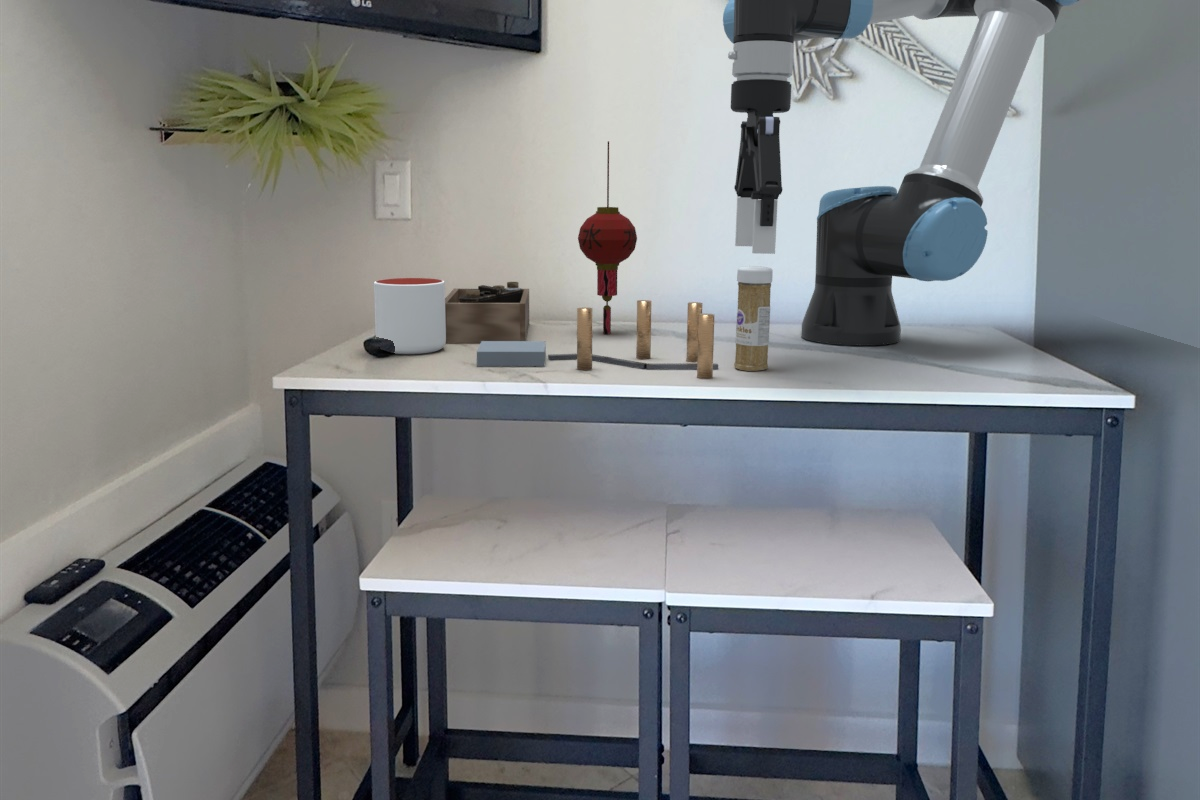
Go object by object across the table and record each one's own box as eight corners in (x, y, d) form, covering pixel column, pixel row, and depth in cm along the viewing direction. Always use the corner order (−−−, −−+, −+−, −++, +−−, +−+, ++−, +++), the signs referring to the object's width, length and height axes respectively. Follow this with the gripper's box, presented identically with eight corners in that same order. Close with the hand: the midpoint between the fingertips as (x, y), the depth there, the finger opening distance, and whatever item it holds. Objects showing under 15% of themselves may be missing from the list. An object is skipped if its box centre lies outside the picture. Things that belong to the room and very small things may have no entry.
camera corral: (529, 324, 185) (529, 288, 184) (525, 343, 165) (525, 303, 164) (454, 323, 184) (454, 288, 183) (441, 343, 164) (440, 303, 163)
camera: (493, 327, 182) (493, 279, 180) (529, 329, 179) (528, 281, 178) (440, 341, 167) (438, 289, 166) (477, 344, 165) (476, 291, 163)
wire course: (708, 356, 154) (710, 300, 152) (725, 378, 138) (727, 315, 136) (548, 356, 153) (548, 299, 151) (546, 378, 137) (546, 315, 136)
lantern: (600, 327, 181) (601, 142, 175) (647, 333, 176) (650, 141, 170) (565, 334, 174) (565, 140, 167) (614, 340, 168) (615, 140, 162)
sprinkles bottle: (727, 368, 145) (730, 266, 143) (750, 364, 148) (754, 265, 145) (752, 373, 142) (756, 269, 139) (776, 369, 145) (780, 267, 142)
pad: (545, 355, 154) (545, 341, 154) (544, 366, 146) (544, 351, 145) (481, 355, 154) (481, 341, 154) (476, 366, 145) (476, 351, 145)
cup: (432, 357, 152) (430, 285, 150) (365, 354, 154) (362, 283, 152) (455, 346, 162) (454, 278, 160) (392, 343, 164) (389, 276, 162)
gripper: (718, 86, 149) (712, 243, 154) (748, 70, 125) (740, 256, 129) (772, 87, 150) (765, 243, 154) (813, 71, 125) (803, 257, 130)
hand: (754, 249), depth 142 cm, fingers open, 13 cm apart
